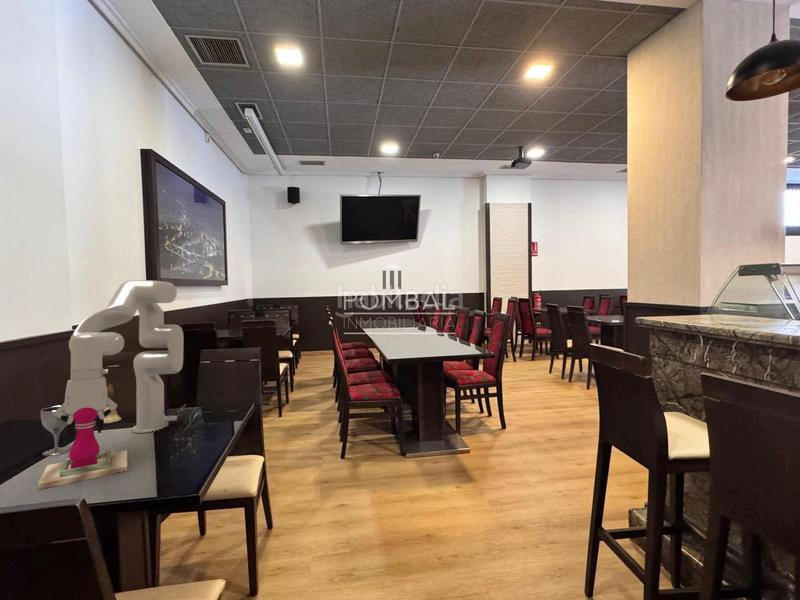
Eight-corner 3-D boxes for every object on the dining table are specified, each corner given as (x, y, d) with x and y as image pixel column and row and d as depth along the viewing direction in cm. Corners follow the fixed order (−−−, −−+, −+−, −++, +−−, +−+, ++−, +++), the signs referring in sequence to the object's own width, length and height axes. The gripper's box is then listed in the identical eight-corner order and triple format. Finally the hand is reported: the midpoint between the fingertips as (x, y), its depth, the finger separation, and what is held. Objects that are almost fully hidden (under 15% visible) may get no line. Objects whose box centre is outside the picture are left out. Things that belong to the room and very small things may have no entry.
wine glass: (36, 457, 129) (36, 412, 129) (45, 449, 136) (45, 407, 136) (67, 453, 132) (67, 409, 132) (74, 445, 139) (74, 404, 140)
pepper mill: (81, 472, 113) (83, 404, 113) (62, 470, 114) (63, 402, 114) (105, 463, 120) (107, 398, 120) (86, 461, 121) (88, 397, 122)
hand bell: (96, 420, 170) (96, 384, 170) (119, 417, 176) (119, 381, 176) (98, 425, 164) (98, 387, 164) (122, 420, 170) (122, 384, 170)
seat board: (127, 454, 130) (127, 445, 130) (127, 471, 117) (127, 461, 117) (47, 470, 118) (47, 460, 119) (37, 490, 105) (37, 479, 106)
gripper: (121, 370, 126) (121, 425, 126) (51, 376, 116) (50, 436, 116) (121, 373, 120) (121, 431, 120) (47, 379, 110) (46, 443, 110)
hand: (86, 433), depth 118 cm, fingers open, 5 cm apart
